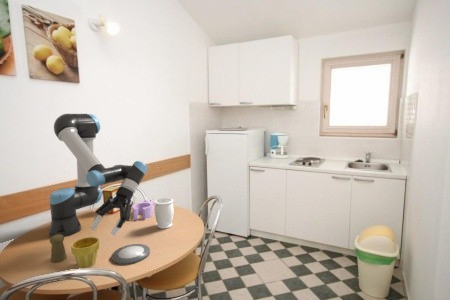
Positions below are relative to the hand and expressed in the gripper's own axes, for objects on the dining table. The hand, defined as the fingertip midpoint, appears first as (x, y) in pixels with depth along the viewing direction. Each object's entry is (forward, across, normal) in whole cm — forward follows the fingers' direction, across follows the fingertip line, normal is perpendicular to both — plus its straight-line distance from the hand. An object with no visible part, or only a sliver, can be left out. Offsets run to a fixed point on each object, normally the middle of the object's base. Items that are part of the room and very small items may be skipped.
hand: (102, 231), depth 115 cm
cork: (+16, +16, -1) cm, 23 cm away
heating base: (+4, -10, -13) cm, 17 cm away
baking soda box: (-22, +46, -39) cm, 64 cm away
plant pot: (+14, +1, -3) cm, 14 cm away
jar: (-19, -2, -36) cm, 40 cm away
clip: (-25, +23, -43) cm, 55 cm away
